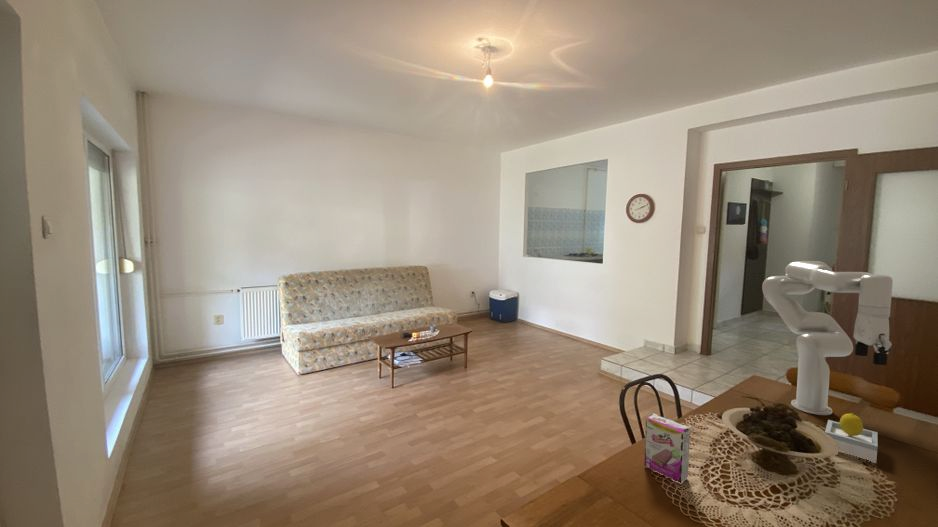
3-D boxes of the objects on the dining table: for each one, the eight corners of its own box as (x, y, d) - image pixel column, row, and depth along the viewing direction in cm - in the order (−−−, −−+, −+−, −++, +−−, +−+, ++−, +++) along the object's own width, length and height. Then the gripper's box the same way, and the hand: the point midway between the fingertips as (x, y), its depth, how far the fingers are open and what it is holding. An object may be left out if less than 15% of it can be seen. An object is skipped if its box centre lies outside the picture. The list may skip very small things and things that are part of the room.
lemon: (855, 433, 129) (857, 410, 128) (866, 442, 124) (868, 418, 123) (835, 430, 131) (836, 408, 130) (844, 439, 126) (846, 416, 125)
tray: (827, 434, 136) (828, 419, 135) (876, 448, 127) (877, 432, 127) (823, 447, 128) (825, 431, 127) (876, 463, 119) (877, 446, 119)
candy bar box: (643, 468, 118) (644, 417, 117) (651, 462, 121) (653, 412, 120) (681, 487, 109) (683, 432, 108) (688, 480, 112) (690, 426, 111)
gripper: (844, 305, 139) (841, 351, 140) (876, 315, 123) (872, 367, 124) (871, 306, 136) (867, 353, 138) (907, 317, 120) (902, 369, 121)
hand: (869, 359), depth 131 cm, fingers open, 9 cm apart
